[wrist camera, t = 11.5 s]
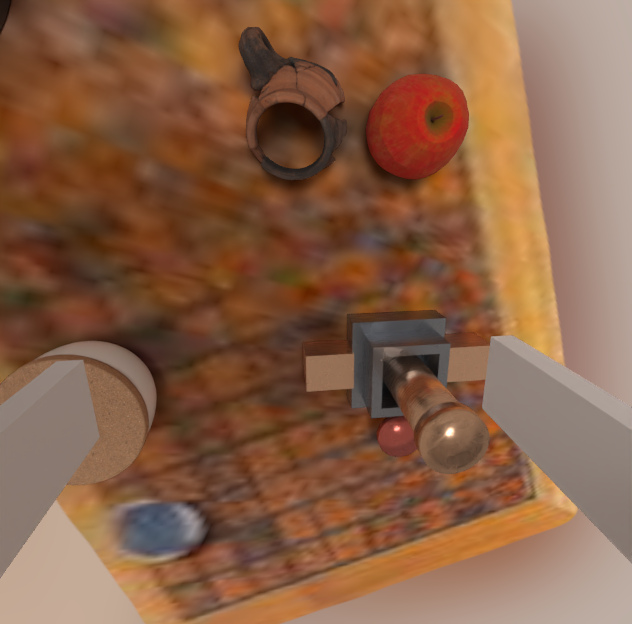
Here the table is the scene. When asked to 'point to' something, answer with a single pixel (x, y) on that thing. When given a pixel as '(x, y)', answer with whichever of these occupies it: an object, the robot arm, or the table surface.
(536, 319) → the table surface
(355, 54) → the table surface
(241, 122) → the table surface
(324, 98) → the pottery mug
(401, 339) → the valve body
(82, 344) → the lidded bowl
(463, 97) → the apple
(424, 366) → the pipe fitting
